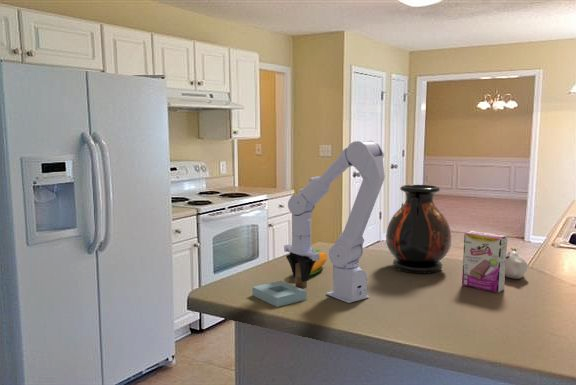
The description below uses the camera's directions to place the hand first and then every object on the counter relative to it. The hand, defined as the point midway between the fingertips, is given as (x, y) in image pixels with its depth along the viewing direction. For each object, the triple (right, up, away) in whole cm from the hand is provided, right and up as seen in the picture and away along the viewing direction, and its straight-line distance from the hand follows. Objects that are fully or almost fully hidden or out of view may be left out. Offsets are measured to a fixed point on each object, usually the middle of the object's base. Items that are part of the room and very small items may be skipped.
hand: (301, 279), depth 152 cm
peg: (0, -2, 0) cm, 2 cm away
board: (-6, -3, -9) cm, 12 cm away
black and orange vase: (+40, 0, +22) cm, 46 cm away
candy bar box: (+54, -3, 0) cm, 54 cm away
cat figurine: (+68, -1, +11) cm, 69 cm away
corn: (+4, -1, +17) cm, 17 cm away
